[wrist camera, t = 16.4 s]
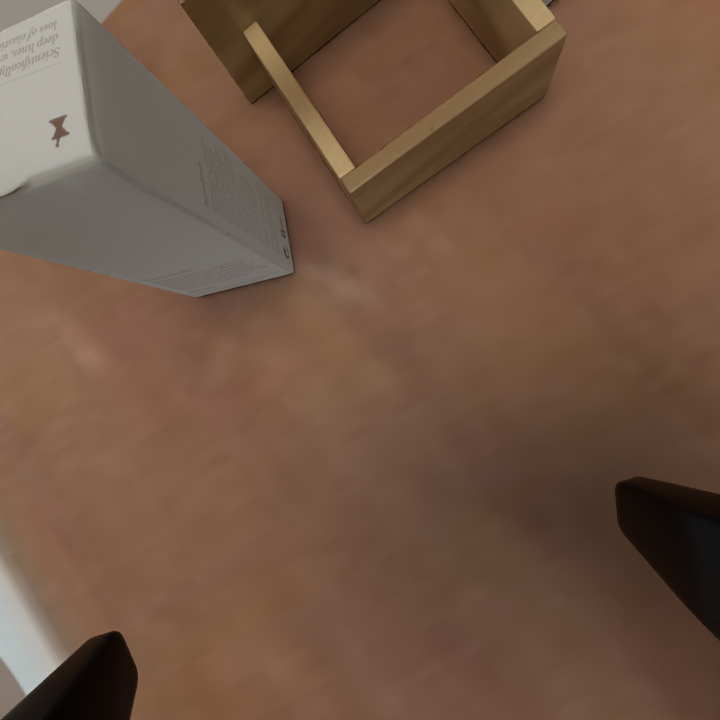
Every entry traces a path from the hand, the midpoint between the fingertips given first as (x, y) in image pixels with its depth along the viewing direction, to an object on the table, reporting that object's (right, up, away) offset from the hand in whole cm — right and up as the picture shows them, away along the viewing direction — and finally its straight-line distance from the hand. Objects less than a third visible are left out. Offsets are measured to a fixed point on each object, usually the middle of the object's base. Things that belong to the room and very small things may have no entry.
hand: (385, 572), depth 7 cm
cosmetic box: (-7, +9, +15) cm, 19 cm away
